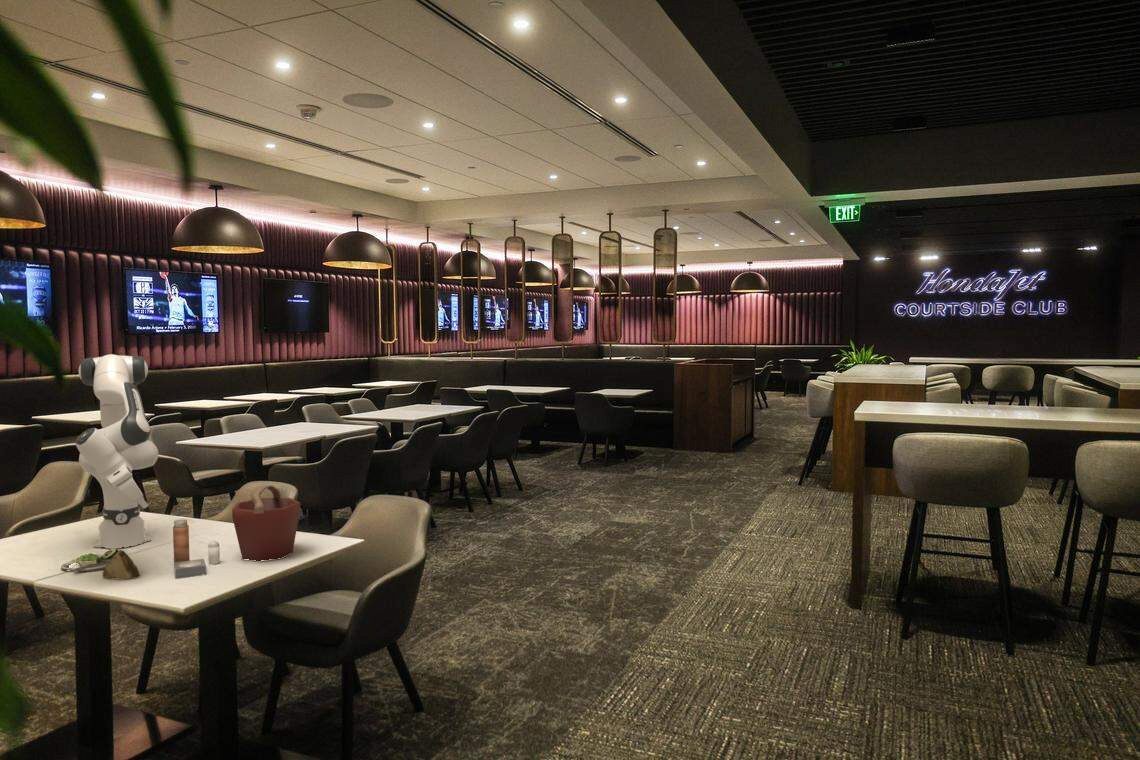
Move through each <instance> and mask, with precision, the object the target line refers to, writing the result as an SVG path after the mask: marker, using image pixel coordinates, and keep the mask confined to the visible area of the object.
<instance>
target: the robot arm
mask: <svg viewBox="0 0 1140 760" xmlns="http://www.w3.org/2000/svg"><path fill="white" fill-rule="evenodd" d="M148 373H149V367H148V364H147V362H146V360H145V358H144V357H142V356H139V355H132V356H131V355H117V354H113V353H111V354H106V355H103V356H98V357H93V356H91V357H87V358H84V359H83V360H82V361H80V364H79V367H78V377H79V379H80V380H81V382H82V383H83V384H84V385H85V386H91V387H93V393H94V395H95V397H96V398H97V400H99V408H100V409H99V410H100V425H101V427H102V428H100V429H99V428H96V427H91V428H88V429H86V430H85V431H83V432H81V434H79V435H78V436H77V438H76V440H75V443H74V444H75V446H76V449H77V450H78V451H79V457H78V463H79V466H80V467H81V468H82V469H83V470H84V471H85V472H86V473H88V474H89V475H92V476H93V477H94V478H95V479H96V480H97V482H98V483H99V484H100V487H101V489H102V494H103V496H102V497H103V504H104V505H103V506H104V507H103V509H102V516H103V517H102V518H103V521H102V522H101V523H99V525H98V540H96V541H95V543H94V544H93V546H94V547H93V548H101V547H105V548H104V549H113V548H117V549H123V548H122V547H124V548H129V546H131V547H134V546H138V544H139V545H141V544H143V542H144V543H148V542H151V541H152V537H150V536H149V535H148V534H147V533H146V527H145V526H146V525H145V520H144V519H143V518H142V517H141V516H140V511H141V508H142V509H146V508H148V506H149V503H147V501H146V500H145V497H144V494H143V492H142V491H141V489H140V488H139V486H138V485H137V483H136V482H135V480H134V478H133V473H132V472H133V471H134V470H142V469H147V468H151V467H153V466H154V465H155V464H156V462H157V461H158V458H159V449H158V448H157V445H156V444H154V442H152V441H151V440H149V437H150V435H151V426H150V424H149V422H148V419H147V417H146V416H147V415H146V414H145V410H144V405H143V400H142V397H141V393H140V391H139V389H138V388H137V387H138V385H141V384H142V383H143V382H144V381H145V380H146V377H147V376H148ZM140 507H141V508H140ZM150 540H151V541H150ZM147 541H148V542H147Z"/></svg>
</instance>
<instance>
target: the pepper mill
mask: <svg viewBox="0 0 1140 760" xmlns="http://www.w3.org/2000/svg"><path fill="white" fill-rule="evenodd" d="M189 526H190V525H188V519H186V518H184V519H183V518H180V519H175V520H174V521H173V526H172V542H173V543H172V547H173V563H174V562H182V561H189V560H191V559H190V531H189V529H190V527H189Z"/></svg>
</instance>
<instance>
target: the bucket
mask: <svg viewBox="0 0 1140 760" xmlns="http://www.w3.org/2000/svg"><path fill="white" fill-rule="evenodd" d="M266 489H267V490H268V491H271V495H272V497H261V495H262V493H263V492H265V490H266ZM249 496H250V498H251V500H250V499H249V500H244V501H239V502H236V503H235V504H234V506H233V507H232V508H231V512H232V513H231V515H232V516H231V517H232V520H233V521H232V522H233V525H234V529H235V534H236V538H237V542H238V545H239V546H238V547H239V551H240V555H241V558H242V560H244V559H249V560H248V561H250V560H256V561H261V560H269V559H277V560H279V559H278V558H282V557H284V556H286V555H288V554H290V553H292V554H293V551H294V545H295V541H296V535H297V531H298V530H297V529H298V525H299V520H300V513H301V502H300V501H298V500H296V499H294V498H291V497H282V494H281V491H280V489H279V488H277V487H276V486H274V485H271V484H270V485H269V484H268V485H267V484H266V485H265V484H264V485H261V486H258V487H256V488H255V489H254V490H253V491H252V492H251V493H250V495H249ZM290 555H291V554H290ZM288 556H289V555H288ZM286 557H287V556H286ZM284 558H285V557H284ZM282 559H283V558H282ZM256 561H255V562H256ZM269 561H270V560H269ZM261 562H262V561H261Z"/></svg>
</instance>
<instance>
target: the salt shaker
mask: <svg viewBox="0 0 1140 760" xmlns="http://www.w3.org/2000/svg"><path fill="white" fill-rule="evenodd" d="M207 554H208V555H207V556H208V559H207V561H208V565H209V564H215V565H218V564H217V563H219V564H220V563H221V557H220V555H221V553H220V543H219V541H216V540H212V541H210V542H209V543H208V546H207Z"/></svg>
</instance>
